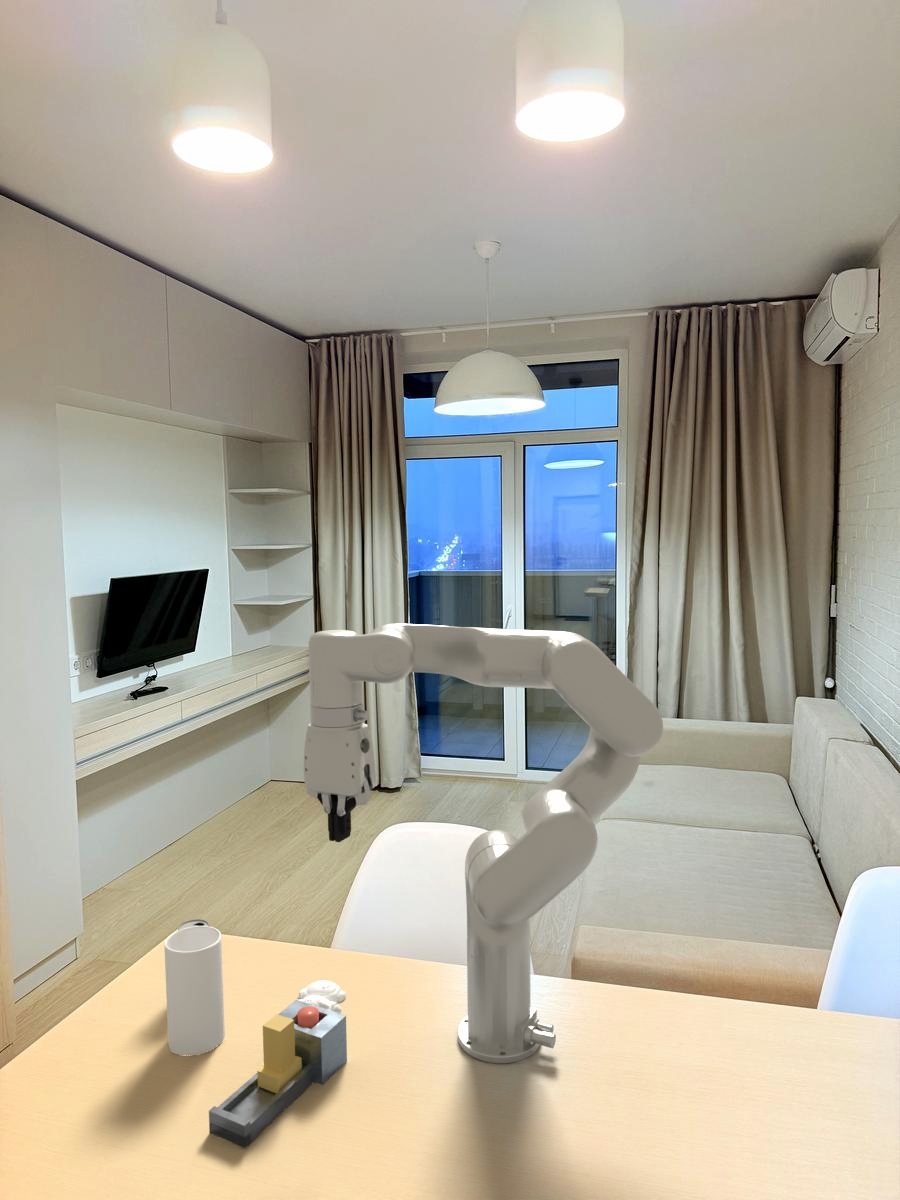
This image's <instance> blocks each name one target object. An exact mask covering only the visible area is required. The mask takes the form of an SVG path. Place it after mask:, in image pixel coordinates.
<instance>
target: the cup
mask: <svg viewBox="0 0 900 1200" xmlns="http://www.w3.org/2000/svg"><path fill="white" fill-rule="evenodd" d="M209 926H210V925H209ZM209 926H193V927H188V928H184V929H181V930H178V929H177V930H176V931H174V932H173V933H171V934H170V935H168V936H167V938H165V940H164V945H163V946H164V947H163V948H164V964H165V965H164V969H165V971H164V972H165V989H166V991H165V992H166V993H165V994H166V1016H167V1019H166V1020H167V1039H168V1040H167V1042H168V1048H169V1050H170V1051H171V1052H172V1053H173V1054H175V1055H177V1054H179V1055H178V1056H181V1055H186V1056H185V1057H193V1056H192V1055H196V1056H199V1055H198V1054H201V1055H203V1053H204V1054H206V1053H205V1052H207V1051H209V1052H211V1051H213V1050H214V1049H213V1048H215V1047H216V1046H217V1045H219V1044H220V1043H221V1042H222V1043H223V1041H224V1040H223V1039H225V1037H224V1036H226V1031H225V1030H226V1029H225V1004H224V1002H225V1001H224V1000H225V998H224V979H223V978H224V975H223V974H224V973H223V972H224V971H223V949H222V948H223V947H222V946H223V945H222V943H223V942H222V933H221V931H220V930H219V929H217V928H215V927H213V926H210V927H209ZM222 1043H221V1044H222ZM221 1044H220V1045H221ZM220 1045H219V1046H220ZM217 1047H218V1046H217ZM217 1047H216V1048H217ZM216 1048H215V1049H216ZM212 1049H213V1050H212ZM210 1050H211V1051H210ZM207 1053H208V1052H207ZM187 1055H188V1056H187ZM189 1055H191V1056H189Z"/></svg>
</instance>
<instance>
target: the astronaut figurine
mask: <svg viewBox="0 0 900 1200" xmlns="http://www.w3.org/2000/svg"><path fill="white" fill-rule="evenodd" d="M298 998H299V999H298V1000H299V1001H302V1002H305V1003H308V1004H311V1005H315V1006H318V1007H321V1008H324V1009H327V1010H330V1011H333V1012H337V1013H340V1014H342V1007H341V1005H339V1004H338V1003H339V1002H340V1003H341V1002H343V1001H345V1000H346V998H347V993H346V992H345V991H344V990H342V988H341V987H340V985H339V984H337V983H335V982H333V981H330V980H326V979H323V980H322V979H320V980H317V981H313V982H311V983H309V985H307V986H306V988H305V987H304V988H302V989H300V990H299V991H298ZM292 1003H293V1002H291V1003H290V1004H292Z"/></svg>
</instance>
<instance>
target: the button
mask: <svg viewBox="0 0 900 1200" xmlns="http://www.w3.org/2000/svg"><path fill="white" fill-rule="evenodd" d="M318 1023H319V1010H318V1009H317V1008H316V1007H312V1006H308V1007H304V1008H301V1009H300V1010H299V1011H298V1025H300V1026H303V1027H306V1028H309V1029H312V1028H313V1027H314V1026H315V1025H316V1024H318Z"/></svg>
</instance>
